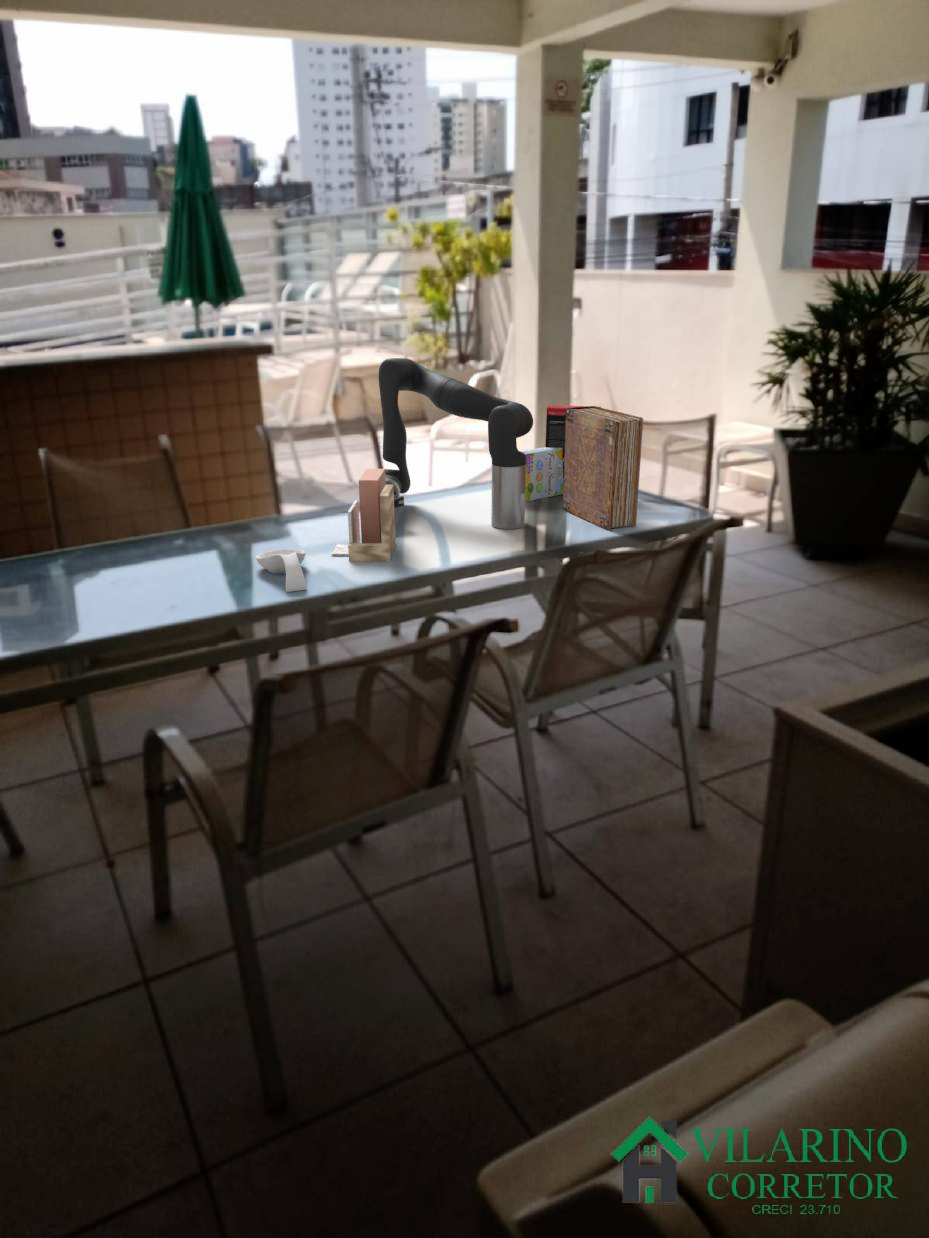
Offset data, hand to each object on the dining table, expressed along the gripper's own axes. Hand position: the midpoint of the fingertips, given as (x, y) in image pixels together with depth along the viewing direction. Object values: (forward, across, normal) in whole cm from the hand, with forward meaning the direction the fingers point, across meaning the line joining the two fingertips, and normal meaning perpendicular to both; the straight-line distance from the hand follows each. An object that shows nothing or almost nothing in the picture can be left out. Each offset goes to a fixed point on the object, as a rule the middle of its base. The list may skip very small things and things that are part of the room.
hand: (377, 508), depth 240 cm
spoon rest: (+36, -17, +8) cm, 40 cm away
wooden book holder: (+17, +1, +7) cm, 18 cm away
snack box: (-43, +44, +7) cm, 62 cm away
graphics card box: (-50, +55, +7) cm, 74 cm away
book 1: (+7, 0, +7) cm, 10 cm away
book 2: (-18, +61, +7) cm, 64 cm away
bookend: (+16, -6, +7) cm, 19 cm away
